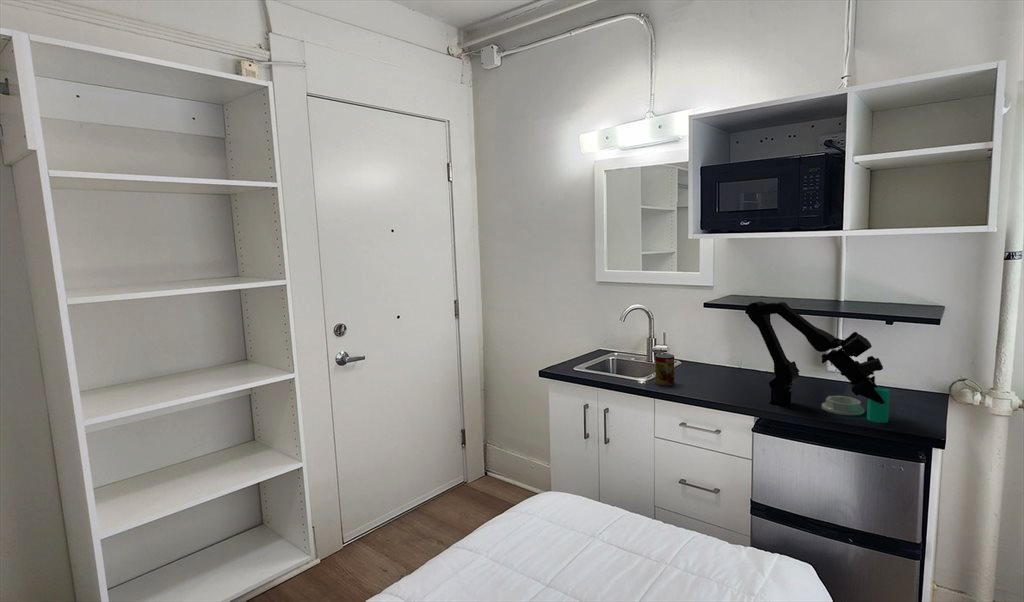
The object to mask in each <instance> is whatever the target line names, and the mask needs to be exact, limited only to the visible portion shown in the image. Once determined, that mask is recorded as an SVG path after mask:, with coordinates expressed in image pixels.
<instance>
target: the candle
mask: <svg viewBox="0 0 1024 602" xmlns="http://www.w3.org/2000/svg"><path fill="white" fill-rule="evenodd" d="M877 387H878V388H875V387H874V388H875V390H876V391H877V392H878V394H879V395H880V396H881V398H882V399H883V400H884V402H885V403H884V404H880V403H878V402H875V401H873V400H871V399H869V398H867V409H866V420H868V421H870V422H873V423H879V424H881V423H882V424H884V423H885V424H886V423H888V422H889V414H890V413H889V411H890V397H891V396H890V392H891V390H890V389H887V388H884V387H880V386H877Z"/></svg>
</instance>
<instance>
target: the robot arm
mask: <svg viewBox="0 0 1024 602" xmlns="http://www.w3.org/2000/svg"><path fill="white" fill-rule="evenodd" d="M745 312H746V315H747V316H748V318H749V319H750V321H751V322H752V323H753V324H754V325H755V326H756V327H757V329H758V330H759V332H760V335H761V338H762V339H763V342H764V344H765V346H766V348H767V351H768V353H769V355H770V357H771V359H772V361H773V373H774V376H775V377H774V378H773V379H772V380H770V381H769V382H768V384H769V388H770V389H771V390H770V401H769V402H768V403H769V404H772V405H777V406H783V407H789V406H790V405H791V404H792V403H794V392H793V391H792V389H793V387H792V386H793V385H794V383H795V382H797V381H798V379H799V378H800V374H799V373H800V369H799V368H798V367H797V364H796V361H790V360H789V359H788V358H787V356H786V354H785V352H784V349H783V347H782V345H781V343H780V340H779V338H778V336H777V334H776V331H775V329H774V327H773V325H772V323H771V315H776V314H777V315H779V316H780V317H781V318H782V319H784V320H785V321H786V322H787V323H788V324H790V326H792V327H793V328H795V329H796V330H797V331H798V332H800V334H802V335H803V336H804V338H806V340H807V342H808V343H809V344H810V345H811V347H813V349H815V351H817V352H819V353H822V355H821V364H826V362H827V361H828V362H829V363H830V364H831V365H833V366H834V367H835V369H837V370H838V371H839V372H840V375H841V376H842V377H845V378H846V379H847V380H848V381H849V382H850V385H851V386H852V387H851V392H852V394H854V395H855V396H856V397H858V396H862V397H864V398H866V399H868V398H869V399H871V400H873V401H875V402H878V403H880V404H884V403H885V402H884V400H883V399H882V398H881V396H880V395H879V394H878V392H877V391H876V390H875V388H878V387H879V386H878V385H877V384H876V376H875V375H874V374H875V372H880V371H882V370H884V366H883V365H882V361H881V359H880V358H878V357H876V358H875V357H874V356H873V355H870V356H867V358H866V361H863V362H859V361H858V360H854V359H853V358H852V357H854V358H858V357H859V356H861V355H863V354H864V353H865V352H867V351H868V350H869V349H871V348H872V343H871V342H870V341H869V339H868V338H866V337H864V336H863V335H862V334H860V333H858V332H857V331H853V332H852V333H850V335H849V336H848V337H846V338H845V339H841V338H837V337H835V336H834V335H832V334H830V333H829V332H827V331H825V330H824V329H821V328H819V327H817V326H814V325H813V324H812V323H810V322H809V321H808V320H807V319H806V318H804V317H803V316H802V315H800V314H799V313H798V312H797V311H795V309H792V307H790V306H789V305H788V304H787V302H784V301H782V302H781V301H779V302H769V303H768V302H767V303H766V302H765V301H760V300H759V301H755V302H751V303H749V304H748V305H747V306H746V309H745ZM839 347H840V348H839ZM836 349H837V350H836ZM827 351H829V352H828V353H825V352H827ZM870 376H871V377H870ZM874 387H875V388H874Z"/></svg>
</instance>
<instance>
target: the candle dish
mask: <svg viewBox="0 0 1024 602" xmlns="http://www.w3.org/2000/svg"><path fill="white" fill-rule="evenodd" d="M821 409H822V410H824V411H826V412H828V413H831V414H835V415H841V416H851V417H852V416H853V417H855V416H862V415H864V414H865V412H866V409H865V407H863V406H862V401H861V400H859V399H858V398H857V399H856V398H855V397H851V396H844V395H829V396H827V397H826V398H825V402H822V403H821Z"/></svg>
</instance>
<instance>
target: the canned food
mask: <svg viewBox="0 0 1024 602" xmlns="http://www.w3.org/2000/svg"><path fill="white" fill-rule="evenodd" d="M654 358H655V360H654V364H655V365H654V366H655V367H654V371H655V372H654V373H655V377H654V380H655V384H657V385H660V386H672V385H674V384H675V355H674V354H671V353H656V354H655V357H654Z"/></svg>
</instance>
